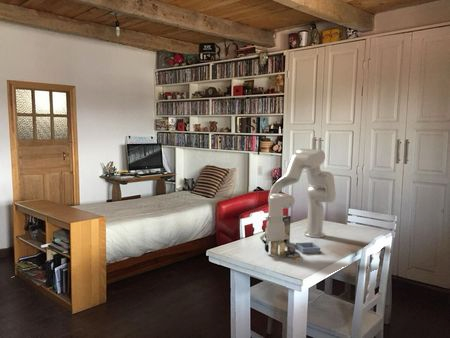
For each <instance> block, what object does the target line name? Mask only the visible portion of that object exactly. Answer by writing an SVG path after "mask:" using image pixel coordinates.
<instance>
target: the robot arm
mask: <svg viewBox="0 0 450 338" xmlns="http://www.w3.org/2000/svg"><path fill="white" fill-rule="evenodd" d="M325 159H326V154H325V152H324V151H323V150H322V149H318V148H317V149H315V148H314V149H313V148H312V149H311V148H298V149H297V150H296V151H295V153H293V154H292V155H291V157H290V160H289V162H288V165H287V167H286V170H285V171H284V175H282V177H280V178H278V180H276V181H275V183H274V184H273V185H272V186H271V188H270V191H269V193H268V197H267V202H268V215H267V216H266V217H265V220H266V225H265V231H264V233H263V234H261V236H259V240H260V241H261V242H263V244H264V251H265V252H266V253H267V254H268V253H270V252H269V249H270V246H269V243H271V241H281V242H284V243H286V242H287V240H288V239H289V238H291V236H290V237H289V236H288V235H287V234H286V233H285V225H284V222H283V221H282V220H283V215H284V209H291V208H292V207H293V206H294V204H295V198H294V196H293V195H291V194H287V193H280V192H281V190H282V189H284V188H286V187H289V186H291V185H295V184H298V183H299V181H300V179H301V176H302V172H303V170H305V172H306V179H307V183H308V184H309V185H310V186H308V188H307V192H306V195H307V226H306V231H304V235H305V236H306V237H309V238H314V239H315V238H316V239H317V238H324V237H325V236H326V235H325V232H323V230H324V228H323V225H324V205H323V204H322V203H328V204H332V203H334V202H335V200H336V195H337V194H336V184H335V176H334V175H333V173H332V172H331V171H330V172H329V171H324V170H321V165H322V164H324V163H325ZM285 236H286V238H285ZM264 238H265V239H264ZM286 244H287V243H286Z"/></svg>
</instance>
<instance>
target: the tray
mask: <svg viewBox="0 0 450 338" xmlns="http://www.w3.org/2000/svg"><path fill="white" fill-rule="evenodd" d="M295 247H296V250H297V251H298V252H299V253H301V254H302V255H304V254H306V255H310V254H321V247H320V246H318V245H317V244H316V243H314V242H313V241H312V242H295Z"/></svg>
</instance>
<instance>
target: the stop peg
mask: <svg viewBox="0 0 450 338" xmlns="http://www.w3.org/2000/svg"><path fill="white" fill-rule="evenodd" d="M269 253H270V255H271V256H274V257H275V256H276V257H277V256H279V245H278V241H270V252H269Z"/></svg>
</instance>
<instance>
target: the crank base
mask: <svg viewBox="0 0 450 338" xmlns="http://www.w3.org/2000/svg"><path fill="white" fill-rule="evenodd" d="M300 253H301V252H300V251H295V254H287V255H285V256H284V257H285V258H290V259H293V260H294V261H299V258H300V257H301V256H300V255H301V254H300Z"/></svg>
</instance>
